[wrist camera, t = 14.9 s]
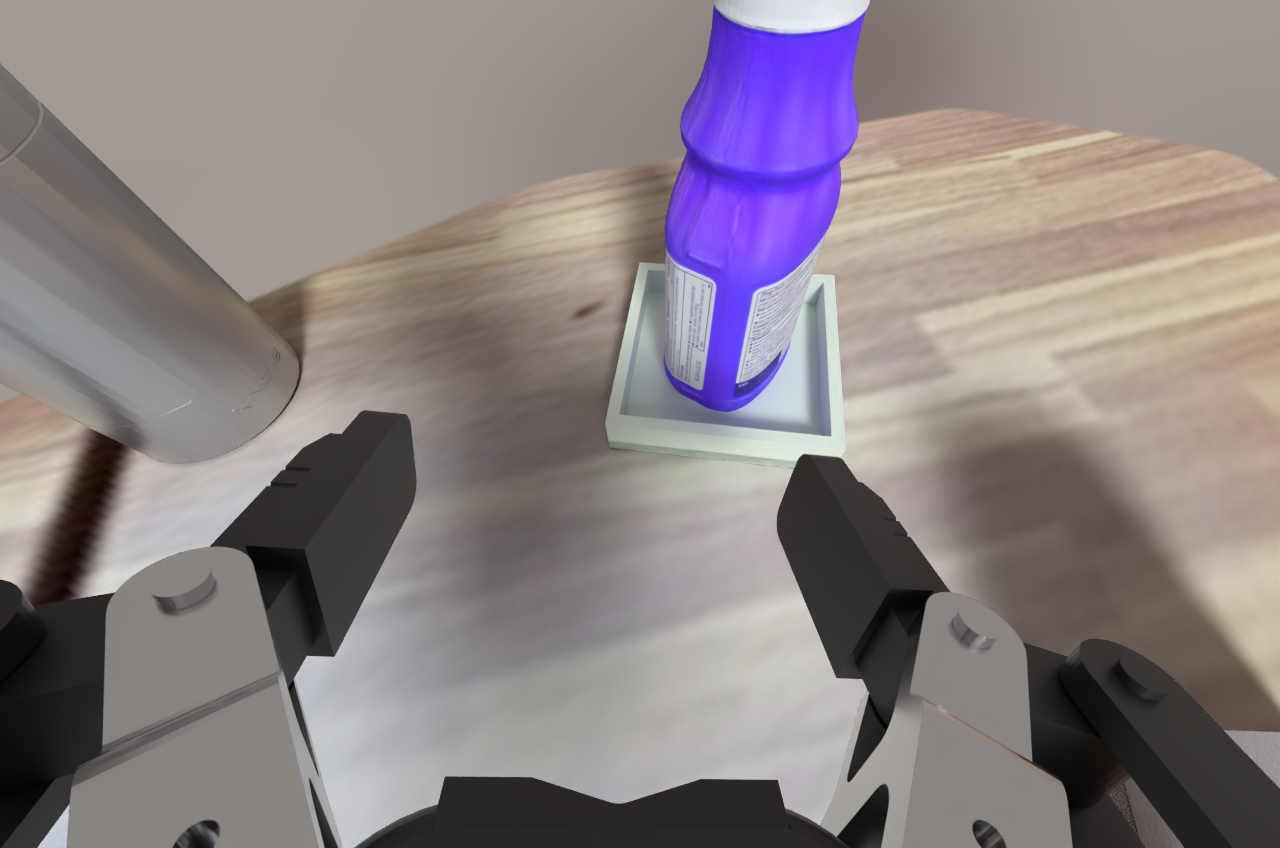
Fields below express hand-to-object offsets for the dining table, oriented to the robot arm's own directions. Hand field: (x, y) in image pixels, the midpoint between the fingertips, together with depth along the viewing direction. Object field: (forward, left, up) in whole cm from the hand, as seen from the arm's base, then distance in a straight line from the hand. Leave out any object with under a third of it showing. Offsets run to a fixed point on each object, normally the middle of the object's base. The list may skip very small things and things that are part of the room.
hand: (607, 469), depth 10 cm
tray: (+3, +13, -14) cm, 19 cm away
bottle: (+3, +13, -13) cm, 18 cm away
